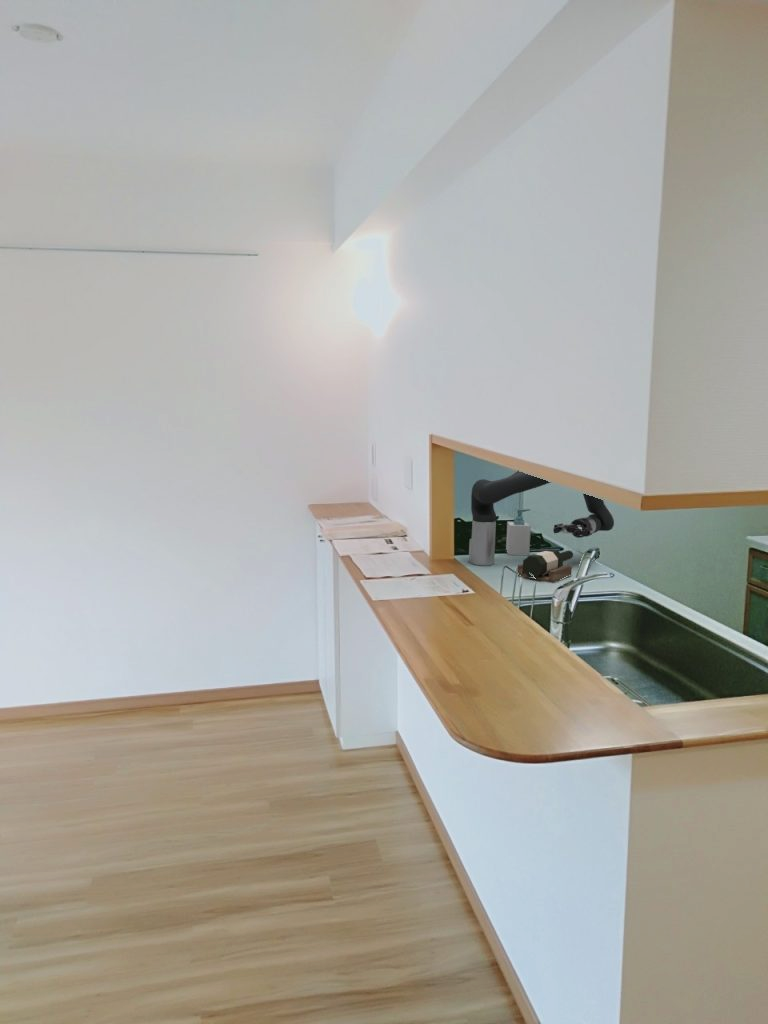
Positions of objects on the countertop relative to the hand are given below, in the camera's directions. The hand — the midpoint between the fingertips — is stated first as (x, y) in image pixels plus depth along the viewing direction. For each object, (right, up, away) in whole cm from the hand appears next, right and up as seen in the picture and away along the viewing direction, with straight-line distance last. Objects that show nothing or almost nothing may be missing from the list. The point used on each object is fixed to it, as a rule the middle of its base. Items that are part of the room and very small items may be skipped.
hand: (564, 532), depth 306 cm
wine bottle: (-16, -12, -16) cm, 26 cm away
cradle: (-9, -16, -8) cm, 20 cm away
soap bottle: (-13, -10, +28) cm, 33 cm away
